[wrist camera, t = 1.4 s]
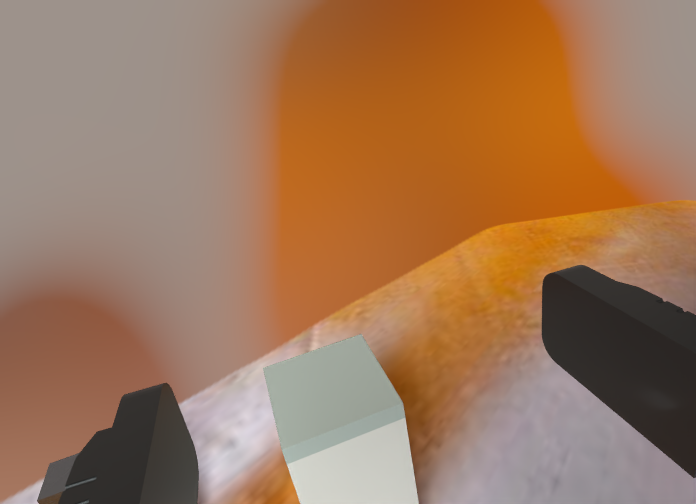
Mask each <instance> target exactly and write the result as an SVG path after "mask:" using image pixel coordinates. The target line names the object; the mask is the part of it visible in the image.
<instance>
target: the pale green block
mask: <svg viewBox="0 0 696 504" xmlns="http://www.w3.org/2000/svg"><path fill="white" fill-rule="evenodd" d="M263 371H264V375H265V379H266V384H267V388H268V392H269V397H270V401H271V405H272V410H273V414H274V418H275V423H276V427H277V431H278V436H279V440H280V444H281V449H282V452H283V455H284V458H285V460H286V463H287V466H288V469H289V472H290V475H291V478H292V481H293V483H294V486H295V489H296V492H297V495H298V498H299V501H300V503H301V504H419V502H418V496H417V489H416V483H415V477H414V470H413V464H412V457H411V451H410V444H409V438H408V432H407V425H406V419H405V412H404V406H403V402H402V400H401V399H400V397H399V395H398V394H397V392H396V390H395V389H394V387H393V385H392V384H391V382H390V381H389V379H388V377H387V376H386V374H385V372H384V371H383V369H382V367H381V366H380V364H379V362H378V361H377V359H376V357H375V356H374V354H373V353H372V351H371V349H370V348H369V346H368V344H367V343H366V341H365V339H364V338H363V336H362V334H360V335H357V336H354V337H351V338H348V339H345V340H342V341H340V342H337V343H334V344H331V345H328V346H325V347H322V348H319V349H316V350H314V351H311V352H308V353H305V354H302V355H299V356H296V357H293V358H291V359H288V360H285V361H282V362H279V363H276V364H273V365H270V366H267V367H265V368H263Z"/></svg>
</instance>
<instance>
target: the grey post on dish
mask: <svg viewBox="0 0 696 504" xmlns="http://www.w3.org/2000/svg"><path fill="white" fill-rule="evenodd" d="M78 455H79V453H78V454H75V455H73V456H70V457H67V458H64V459H61V460H59V461H56V462H53V463H50V465H49V467H48V470H47V474H46V476H45V479H44V482H43V485H42V488H41V491H40V494H39V497H38V500H37V501H38V503H39V504H58V502H59V500H60V497H61V495H62V492H63V491H65V490H66V487H65V484H66V482H67V479H68V477H69V474H70V471H71V469H72V466H73V464H74V461H75V458H76V457H77V456H78Z"/></svg>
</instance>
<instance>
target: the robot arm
mask: <svg viewBox="0 0 696 504" xmlns="http://www.w3.org/2000/svg"><path fill="white" fill-rule="evenodd" d="M542 339H543V343H544V346H545V348H546V350H547V352H548V354H549V355H550V357H551V358H552V359H553V360H554V361H555V362H556V363H557V364H558V365H559V366H561V367H562V368H563V369H564V370H565V371H566V372H568V373H569V374H570V375H571V376H572V377H574V378H575V379H576V380H577V381H578V382H580V383H581V384H582V385H583V386H584V387H586V388H587V389H588V390H589V391H590V392H592V393H593V394H594V395H595V396H596V397H598V398H599V399H600V400H601V401H602V402H604V403H605V404H606V405H607V406H608V407H610V408H611V409H612V410H613V411H614V412H616V413H617V414H618V415H619V416H620V417H621V418H623V419H624V420H625V421H626V422H627V423H629V424H630V425H631V426H632V427H633V428H635V429H636V430H637V431H638V432H639V433H641V434H642V435H643V436H644V437H645V438H647V439H648V440H649V441H650V442H651V443H653V444H654V445H655V446H656V447H657V448H659V449H660V450H661V451H662V452H663V453H665V454H666V455H667V456H668V457H669V458H671V459H672V460H673V461H674V462H675V463H676V464H678V465H679V466H680V467H681V468H682V469H684V470H685V471H686V472H687V473H688V474H690V475H691V476H692V477H693V478H696V315H694V314H692V313H690V312H688V311H687V312H684V311H683V309H682V308H680V307H678V306H676V305H674V304H672V303H670V302H668V301H666V302H664V301H663V299H662V298H660V297H658V296H656V295H654V294H652V293H650V292H648V291H645V290H643V289H641V288H639V287H636V286H632V285H629V284H625V283H621V282H617V281H615V280H613V279H611V278H609V277H607V276H605V275H603V274H601V273H599V272H597V271H595V270H593V269H591V268H589V267H587V266H584V265H578V266H574V267H571V268H567V269H564V270H560V271H557V272H553V273H550V274H548V275H546V277H545V278H544V280H543V287H542ZM198 480H199V471H198V462H197V456H196V451H195V447H194V444H193V441H192V439H191V436H190V434H189V431H188V429H187V426H186V423H185V421H184V418H183V416H182V413H181V411H180V408H179V406H178V403H177V401H176V398H175V396H174V393H173V391H172V389H171V387H170V386H169V384H167V383H163V384H160V385H157V386H153V387H149V388H146V389H143V390H139V391H136V392H132V393H128V394H125V395H124V396H123V397H122V399H121V401H120V404H119V407H118V410H117V414H116V417H115V420H114V423H113V426H112V428H108V429H105V430H102V431H98V432H96V434H95V435H94V436H93V437H92V439H91V440H90V441H89V442H88V443H87V445H86V446H85V447H84V448H83V450H82V451H81V452H80V453H79V455H78V456H77V457H76V458H75V461H74V464H73V466H72V469H71V471H70V474H69V477H68V479H67V482H66V484H65V487H66V490H65V491H63V492H62V495H61V497H60V500H59V502H58V504H197V498H198Z"/></svg>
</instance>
